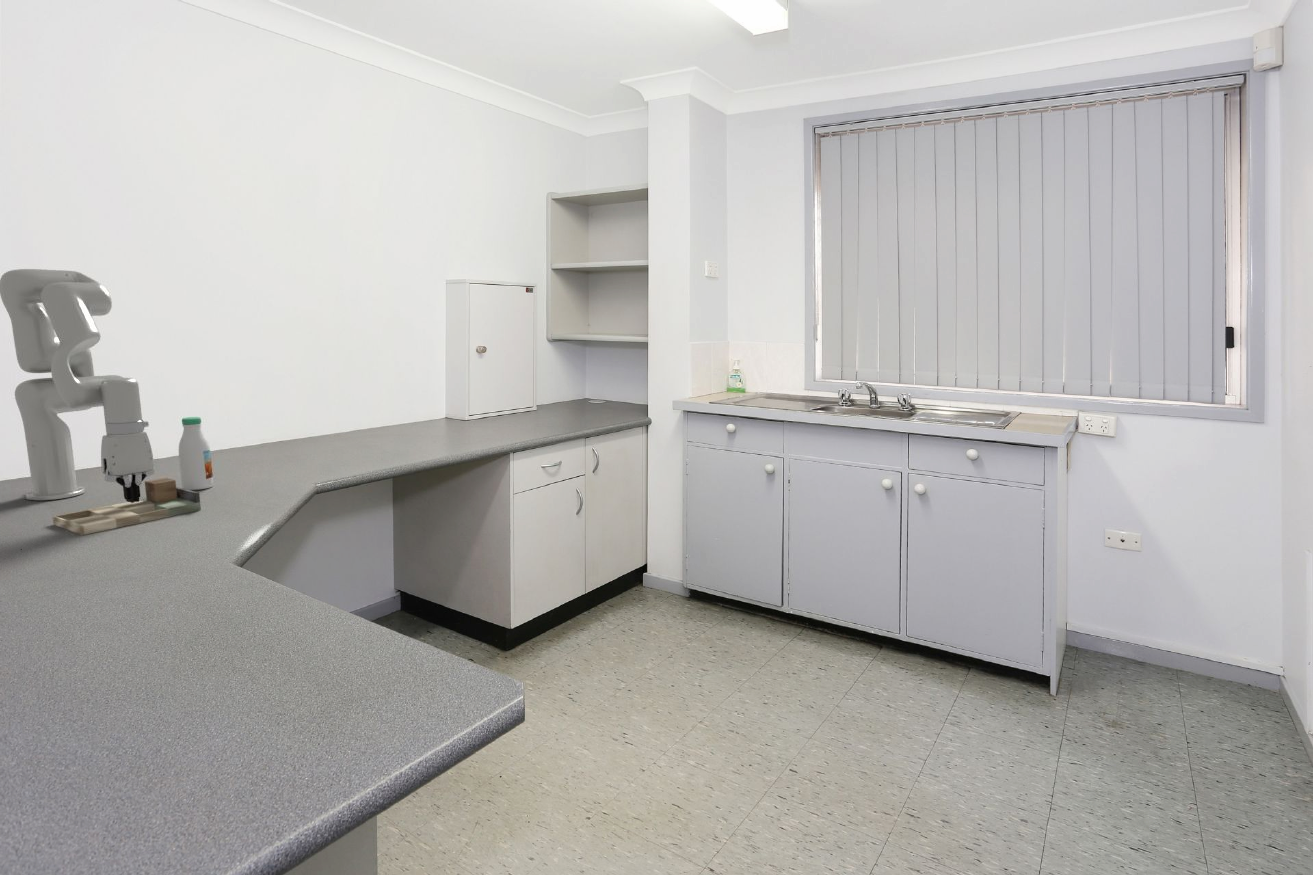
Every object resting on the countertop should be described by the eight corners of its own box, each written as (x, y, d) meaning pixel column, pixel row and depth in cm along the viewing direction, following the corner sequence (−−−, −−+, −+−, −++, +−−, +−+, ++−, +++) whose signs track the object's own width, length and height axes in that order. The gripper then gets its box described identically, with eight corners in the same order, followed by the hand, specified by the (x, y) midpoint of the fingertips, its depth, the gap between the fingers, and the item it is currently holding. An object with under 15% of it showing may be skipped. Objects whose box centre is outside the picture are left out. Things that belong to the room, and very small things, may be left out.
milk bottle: (199, 491, 214) (192, 420, 211) (175, 490, 216) (168, 419, 212) (220, 485, 222) (213, 416, 218) (196, 483, 223) (190, 415, 220)
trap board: (53, 524, 182) (51, 505, 181) (170, 501, 203) (169, 484, 203) (81, 535, 174) (79, 515, 173) (200, 509, 195) (199, 492, 195)
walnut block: (146, 500, 196) (144, 481, 196) (167, 496, 201) (165, 477, 200) (156, 503, 194) (154, 483, 193) (177, 499, 198) (175, 480, 197)
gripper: (149, 423, 197) (157, 493, 200) (82, 431, 185) (91, 505, 188) (165, 426, 193) (172, 497, 196) (97, 434, 181) (106, 510, 184)
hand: (132, 501), depth 192 cm, fingers closed
